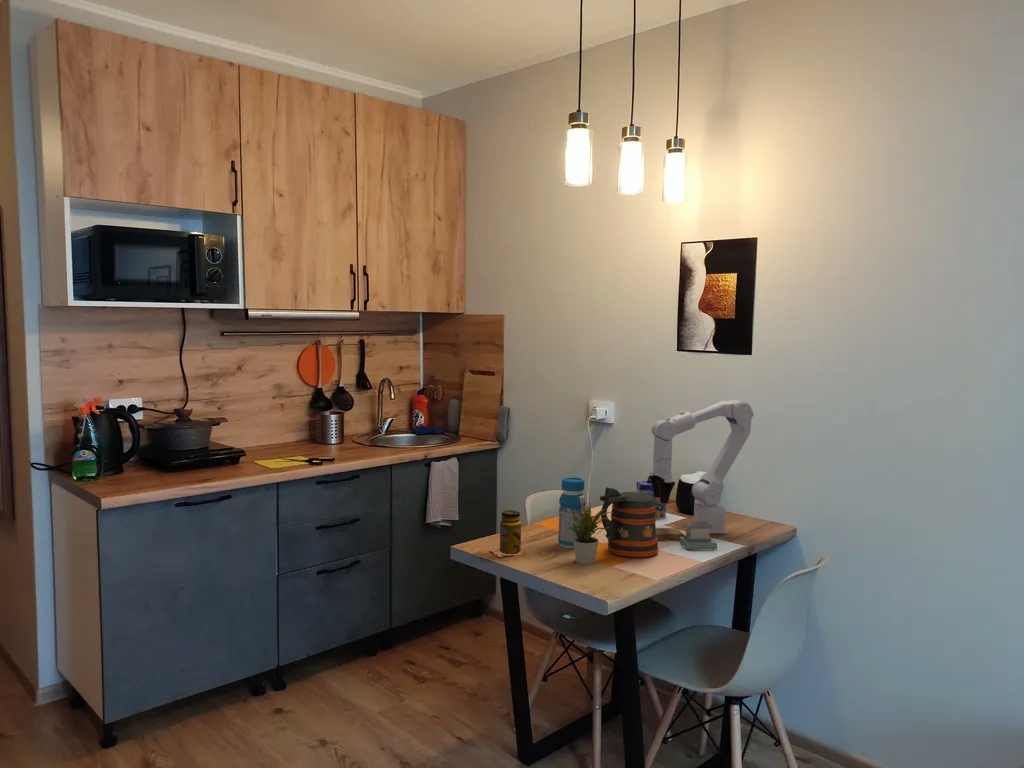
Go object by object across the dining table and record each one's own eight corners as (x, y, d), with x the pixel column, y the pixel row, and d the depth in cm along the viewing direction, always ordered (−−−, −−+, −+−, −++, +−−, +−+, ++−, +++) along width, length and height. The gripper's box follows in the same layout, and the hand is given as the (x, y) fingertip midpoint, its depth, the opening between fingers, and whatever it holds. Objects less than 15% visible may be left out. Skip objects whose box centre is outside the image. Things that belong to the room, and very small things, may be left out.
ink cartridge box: (638, 519, 255) (640, 477, 254) (634, 515, 260) (635, 474, 259) (666, 518, 256) (668, 477, 255) (662, 514, 261) (663, 474, 260)
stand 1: (676, 534, 237) (676, 527, 237) (683, 540, 230) (683, 534, 230) (648, 534, 236) (649, 528, 236) (654, 540, 229) (655, 534, 229)
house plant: (622, 568, 202) (624, 509, 201) (575, 573, 198) (576, 512, 197) (601, 553, 216) (602, 497, 214) (556, 556, 212) (557, 500, 210)
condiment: (525, 554, 213) (526, 513, 212) (498, 558, 210) (499, 516, 209) (515, 547, 220) (515, 508, 219) (488, 551, 216) (489, 510, 215)
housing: (706, 537, 226) (706, 521, 226) (711, 542, 222) (711, 525, 221) (683, 538, 225) (684, 521, 225) (688, 542, 221) (688, 525, 221)
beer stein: (622, 565, 205) (623, 493, 204) (585, 551, 217) (587, 484, 215) (668, 553, 217) (670, 485, 215) (631, 541, 228) (633, 477, 227)
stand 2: (708, 542, 228) (709, 536, 228) (717, 549, 221) (717, 543, 221) (680, 543, 227) (680, 536, 227) (687, 550, 220) (687, 543, 220)
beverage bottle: (563, 550, 218) (564, 482, 217) (553, 541, 226) (555, 477, 225) (590, 548, 221) (591, 481, 219) (579, 540, 229) (581, 475, 227)
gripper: (644, 454, 244) (642, 495, 245) (656, 462, 230) (654, 505, 231) (665, 454, 245) (663, 495, 246) (678, 462, 230) (677, 505, 231)
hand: (660, 500), depth 238 cm, fingers open, 7 cm apart
